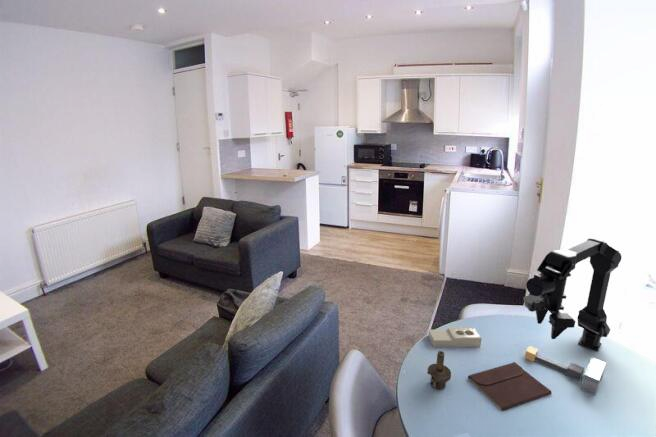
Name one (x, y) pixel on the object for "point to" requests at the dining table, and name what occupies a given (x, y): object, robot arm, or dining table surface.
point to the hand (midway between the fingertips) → (545, 330)
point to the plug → (555, 364)
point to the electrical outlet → (455, 337)
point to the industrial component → (439, 372)
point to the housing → (593, 375)
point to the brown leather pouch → (509, 386)
